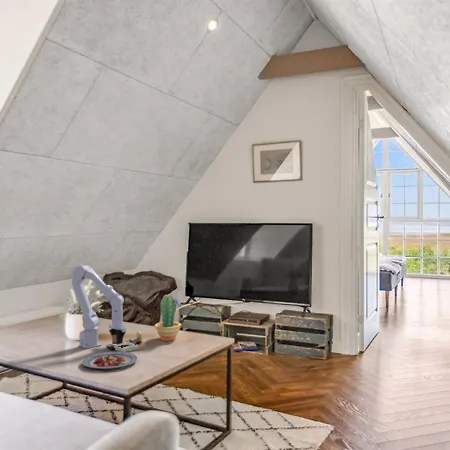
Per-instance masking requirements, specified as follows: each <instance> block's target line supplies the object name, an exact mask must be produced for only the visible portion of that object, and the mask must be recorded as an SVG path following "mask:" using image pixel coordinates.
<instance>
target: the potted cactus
mask: <svg viewBox="0 0 450 450" xmlns="http://www.w3.org/2000/svg"><path fill="white" fill-rule="evenodd" d="M180 304H181V303H180V301H179V299H178V298H177V297H174V296H173V295H172V294H169V295H168V294H166V295H164V296H163V297H162V299H161V301H160V311H161V313H162V314H161V315H162V316H161V317H162V319H161V320H162V322H157V323H156V324H154V328H155V330H156V331H157V334H158V336H159V337H160V338H159V339H160V340H162V341H166V342H167V341H174V340H176V339H177V338H176V336H177V335H178V334H179V331H180V328H181V327H182V324H181V323H180V322H178V321H175V313H176V311H177V309H178V308H179V307H180Z"/></svg>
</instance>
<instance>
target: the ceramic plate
mask: <svg viewBox="0 0 450 450" xmlns="http://www.w3.org/2000/svg"><path fill="white" fill-rule="evenodd" d="M136 361H138V355H136V354H134V353H132V352H118V351H108V352H107V351H105V352H98V353H94V354H91V355H88V356H86V357H84V358H83V359H82V360H81V363H82V365H83V366H85V367H88V368H93V369H100V370H112V369H119V368H123V367H125V366H129V365H132V364H134V363H135V362H136Z"/></svg>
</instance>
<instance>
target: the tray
mask: <svg viewBox="0 0 450 450" xmlns="http://www.w3.org/2000/svg"><path fill="white" fill-rule="evenodd" d="M121 345H128V346H126V347H123V348H121V347H118V346H121ZM113 347H114V348H115V350H114V351H115V352H127V353H131V352H133V351H139V345H138V344H136V345H135V344H133V343H130V342H128V341H126V342H123V343H122V344H117V345H113V346H112V348H113Z"/></svg>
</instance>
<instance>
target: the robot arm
mask: <svg viewBox="0 0 450 450" xmlns="http://www.w3.org/2000/svg"><path fill="white" fill-rule="evenodd" d="M71 278H72V279H71V285H72V288H73V290H74V293H75V296H76V299H77V301H78V304H79V306H80V310H81V313H82V316H81V320H82V327H83V329H84V330H81V331H80V332H79V344H78V346H79V347H80V348H84V349H91V348H95V347H101V346H102V344H101V343H99V325H100V323H101V320H100V317H98V315H97V313H96V311H94V310H93V307H92V304H91V303H90V300H89V297H88V295H87V292H86V289H85V286H84V281H86V279H87V280H90V281H91V282H93V283H94V284H95V285H96V286H97V287H98V288H99V289H100V293H101V294H102V295H103V296H104V297H105V298H106V299H107V300H108V301H109V304H110V306H111V323H108V329H109V330H108V332H109V333H110V335H111V337H112V335H116V336H117V343H118V344H121V343H122V340H123V339H124V336H125V335H126V332H127V327H125V324H124V322H123V321H124V318H123V317H124V313H123V312H124V310H123V308H124V307H123V304H124V303H125V298H124V297H123V295H122V294H120V293H118V292H116V290H114V287H113V286H112V285H110V284H108V285H107V284H106V283H105V282H104V281H103V280H102V279H101V277H100V276H99V275H98V274H97V273H96V272H95V270H94V268H92V267H91V266H90V265H89V264H82V265H77V266H75V268H74V269H73V270H72V277H71ZM123 341H124V340H123Z"/></svg>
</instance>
